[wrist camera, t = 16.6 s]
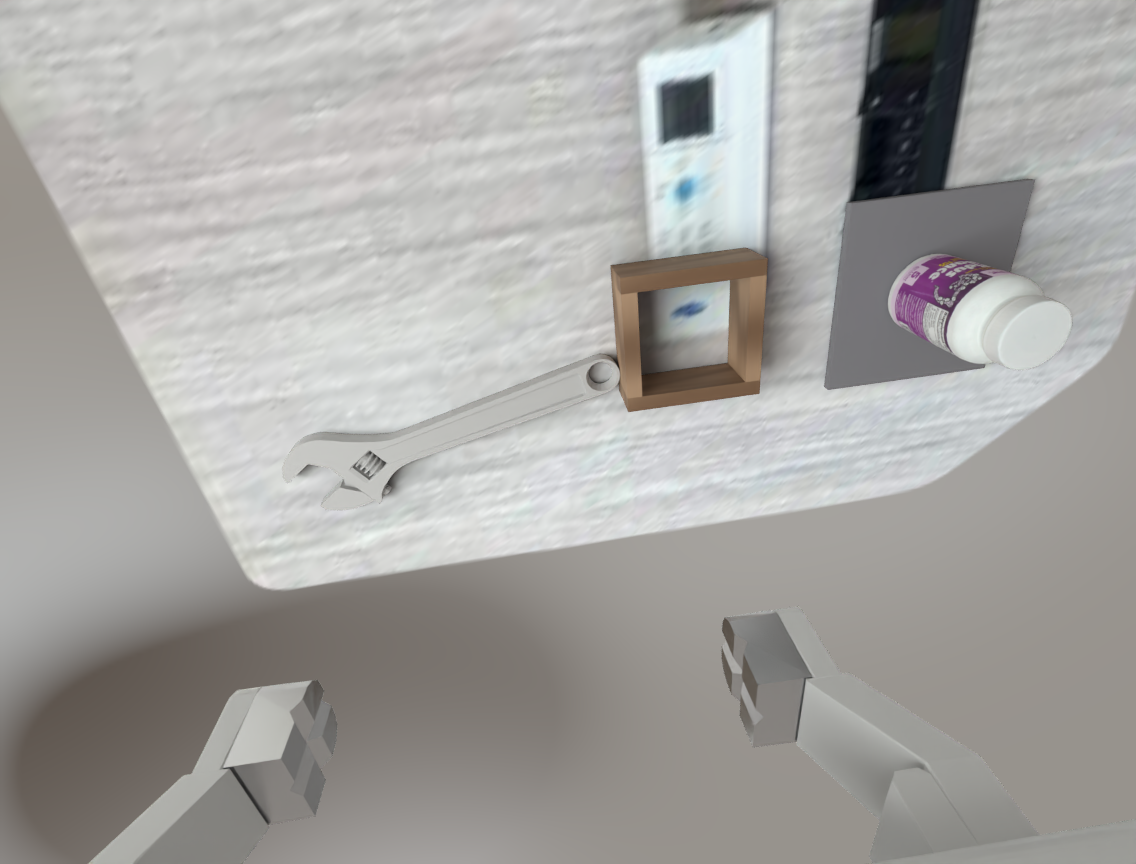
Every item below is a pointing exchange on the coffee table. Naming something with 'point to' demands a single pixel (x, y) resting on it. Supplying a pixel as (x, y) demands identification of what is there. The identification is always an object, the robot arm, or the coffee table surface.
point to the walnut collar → (743, 328)
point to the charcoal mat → (886, 247)
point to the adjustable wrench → (438, 433)
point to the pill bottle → (979, 312)
